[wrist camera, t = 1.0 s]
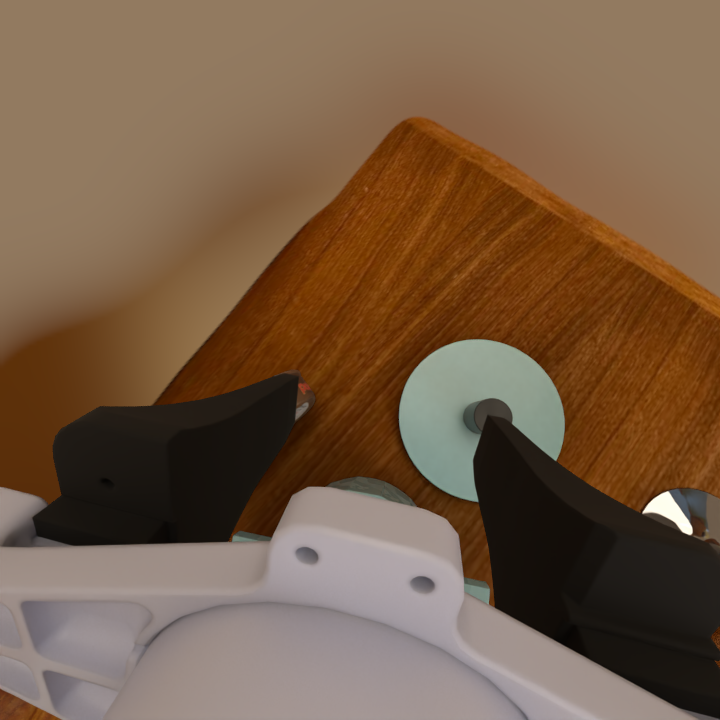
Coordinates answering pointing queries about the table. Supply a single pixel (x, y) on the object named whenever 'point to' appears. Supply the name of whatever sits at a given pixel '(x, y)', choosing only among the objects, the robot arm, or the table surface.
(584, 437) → the table surface
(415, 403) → the lid
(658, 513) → the wine glass
